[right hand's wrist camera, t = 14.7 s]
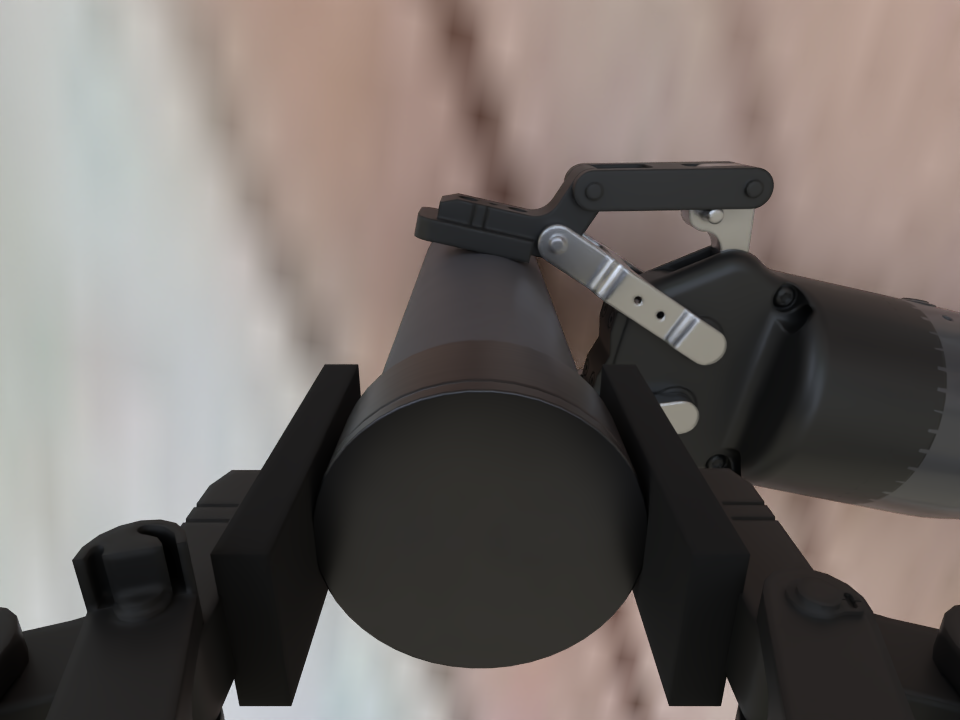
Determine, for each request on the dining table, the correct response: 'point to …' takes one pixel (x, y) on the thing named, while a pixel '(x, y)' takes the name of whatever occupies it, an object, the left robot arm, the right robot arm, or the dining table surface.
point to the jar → (478, 305)
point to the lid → (480, 508)
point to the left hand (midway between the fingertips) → (405, 303)
